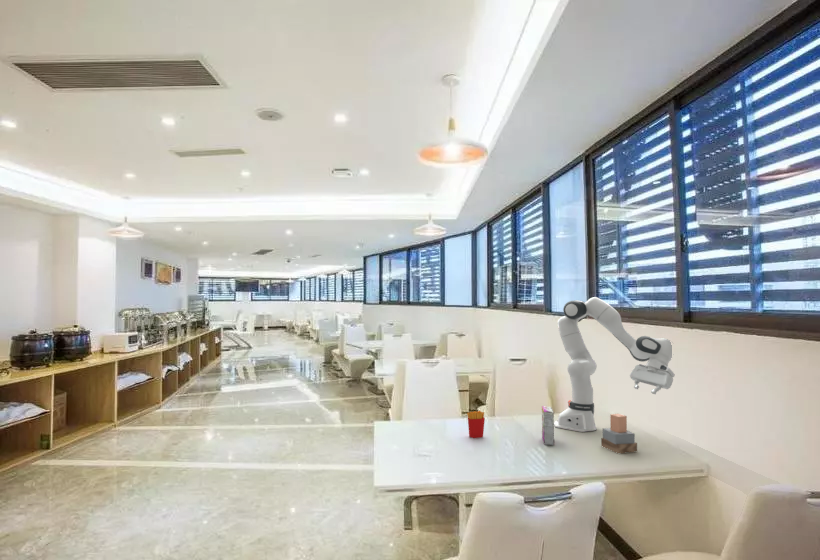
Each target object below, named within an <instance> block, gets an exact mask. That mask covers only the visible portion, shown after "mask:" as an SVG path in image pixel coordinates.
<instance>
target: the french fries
mask: <svg viewBox="0 0 820 560" xmlns="http://www.w3.org/2000/svg"><path fill="white" fill-rule="evenodd" d="M466 414H467V424H468V425H467V427H468V434H469V438H471V439H480V438H483V437H484V429H485V411H481V410H479V411H476V410H475V411H470V412H468V411H467V412H466Z"/></svg>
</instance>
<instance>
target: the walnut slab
mask: <svg viewBox="0 0 820 560" xmlns="http://www.w3.org/2000/svg"><path fill="white" fill-rule="evenodd" d="M600 445H601V446H600V447H602V446H603V447H602V448H604V447H605V448H604V449H607V448H608V449H607V450H609V449H610V450H609V451H611V450H612V451H611V452H613V451H614V452H613V453H616V452H617V453H616V454H618V453H621V454H626V453H625V452H629V453H635V452H634V451H637V452H638V442H635V443H632V444H614V443H612V442H610V441H608V440H606V439H604V438H603V437H602V438H601V444H600Z"/></svg>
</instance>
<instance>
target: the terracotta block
mask: <svg viewBox="0 0 820 560" xmlns="http://www.w3.org/2000/svg"><path fill="white" fill-rule="evenodd" d="M609 414H610V413H609ZM609 417H610V428H611V430H612V431H615V432H618V433H622V432H627V431H628V425H627V423H628V422H627V420H628V419H627V418H628V417H627V415H625V414H621V413H611V414H610V416H609Z"/></svg>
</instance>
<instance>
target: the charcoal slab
mask: <svg viewBox="0 0 820 560" xmlns="http://www.w3.org/2000/svg"><path fill="white" fill-rule="evenodd" d="M602 438H604V439H606V440H608V441H610V442H612V443H614V444H632V443H635V440H636V439H635V438H636V437H635V433H633V432H632V431H629V430H627V432H622V433H618V432H615V431H612V430H611V427H608V428H607V427H605V428H602Z"/></svg>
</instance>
